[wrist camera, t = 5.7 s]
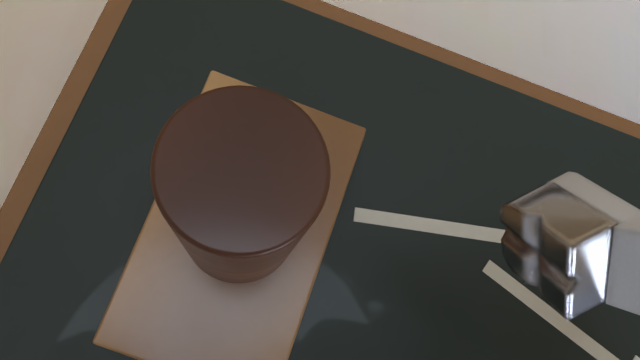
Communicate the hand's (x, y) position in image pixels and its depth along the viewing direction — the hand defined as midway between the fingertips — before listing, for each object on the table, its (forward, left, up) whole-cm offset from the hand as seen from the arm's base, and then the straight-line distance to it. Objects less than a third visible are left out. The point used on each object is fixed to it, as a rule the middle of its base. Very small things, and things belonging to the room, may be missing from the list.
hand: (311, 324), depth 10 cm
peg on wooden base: (-2, +2, -7) cm, 8 cm away
